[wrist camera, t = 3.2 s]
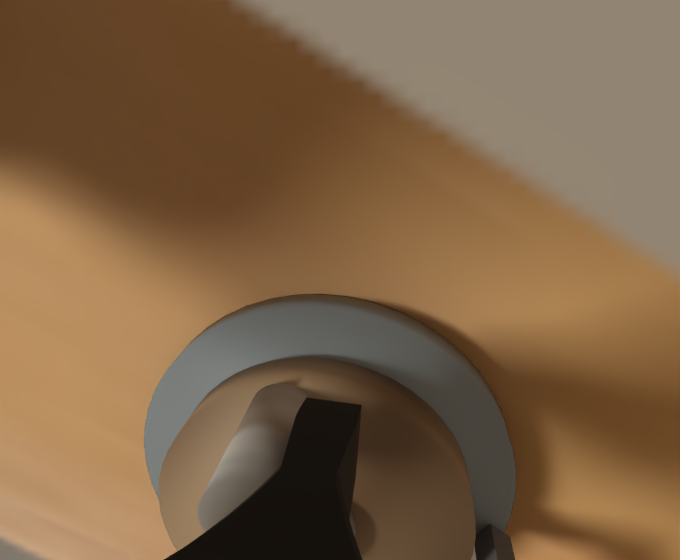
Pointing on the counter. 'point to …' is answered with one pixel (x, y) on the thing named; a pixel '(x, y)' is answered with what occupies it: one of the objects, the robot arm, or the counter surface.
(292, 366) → the capstan disc
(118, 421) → the counter surface
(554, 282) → the counter surface
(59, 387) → the counter surface
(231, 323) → the disc
